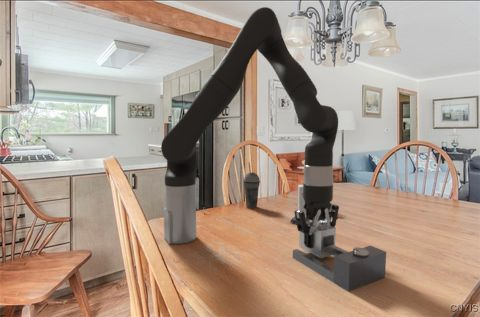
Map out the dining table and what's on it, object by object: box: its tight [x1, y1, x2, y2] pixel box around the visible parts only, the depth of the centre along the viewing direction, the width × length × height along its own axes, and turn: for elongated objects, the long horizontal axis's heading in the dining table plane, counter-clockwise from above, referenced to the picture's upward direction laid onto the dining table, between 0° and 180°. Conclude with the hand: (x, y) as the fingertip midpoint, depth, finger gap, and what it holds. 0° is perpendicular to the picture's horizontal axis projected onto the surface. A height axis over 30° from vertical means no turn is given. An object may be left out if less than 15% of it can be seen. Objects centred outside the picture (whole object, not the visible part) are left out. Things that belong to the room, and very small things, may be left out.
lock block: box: [298, 220, 337, 259], centre depth 73 cm, size 5×8×7 cm, turn 29°
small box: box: [297, 184, 305, 210], centre depth 118 cm, size 8×6×10 cm
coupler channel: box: [292, 245, 387, 292], centre depth 68 cm, size 12×18×7 cm, turn 28°
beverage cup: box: [243, 162, 261, 210], centre depth 122 cm, size 7×7×20 cm
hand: (316, 244), depth 74 cm, fingers closed on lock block, 5 cm apart
